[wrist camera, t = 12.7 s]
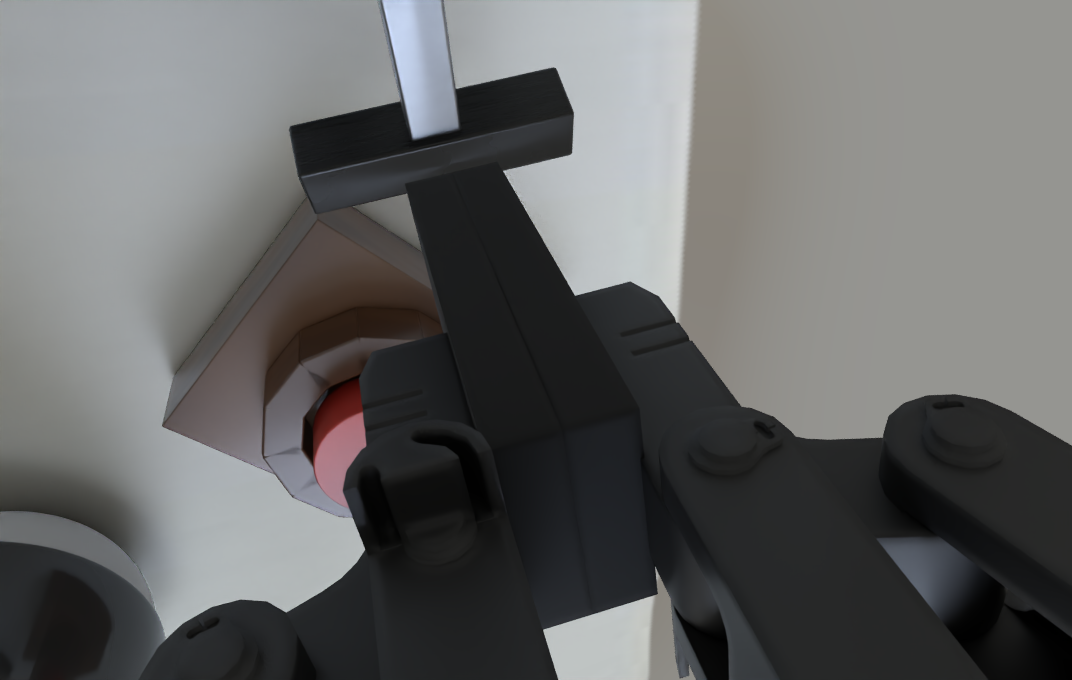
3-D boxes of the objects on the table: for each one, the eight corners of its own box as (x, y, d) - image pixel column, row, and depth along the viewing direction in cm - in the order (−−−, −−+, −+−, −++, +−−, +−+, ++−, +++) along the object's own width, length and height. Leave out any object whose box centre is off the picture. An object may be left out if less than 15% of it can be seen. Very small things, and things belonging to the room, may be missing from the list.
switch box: (172, 377, 28) (152, 464, 24) (316, 183, 25) (318, 246, 22) (412, 488, 33) (426, 573, 29) (550, 334, 30) (585, 407, 27)
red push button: (286, 444, 25) (285, 482, 24) (363, 351, 24) (366, 385, 23) (393, 492, 27) (398, 530, 26) (468, 409, 26) (478, 443, 25)
